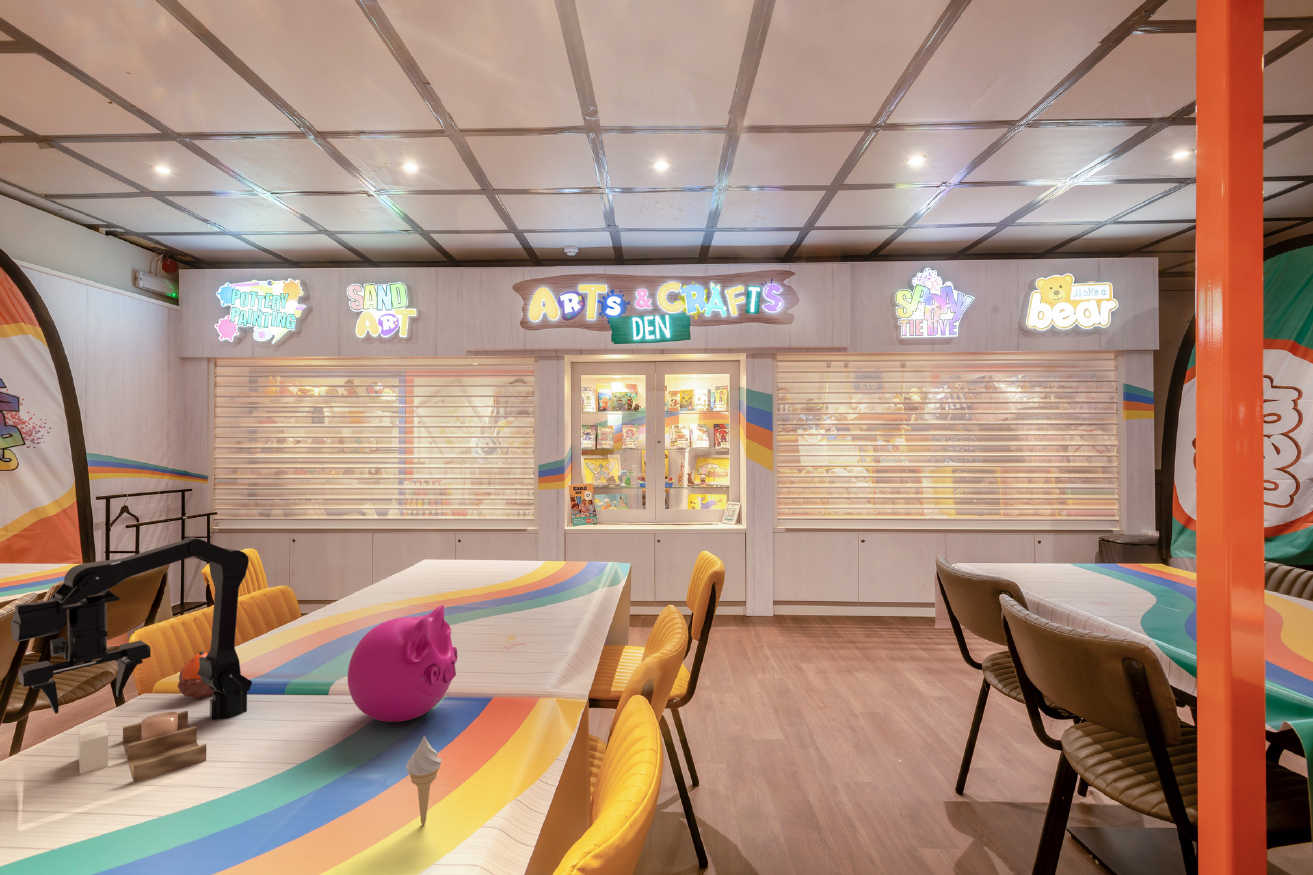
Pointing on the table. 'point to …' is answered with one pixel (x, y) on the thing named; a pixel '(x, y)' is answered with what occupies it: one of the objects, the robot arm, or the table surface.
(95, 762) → the cream rectangular block
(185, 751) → the rack
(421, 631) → the figurine
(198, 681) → the orange rounded lump
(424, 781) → the ice cream cone
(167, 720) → the peach rounded capsule
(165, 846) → the table surface
